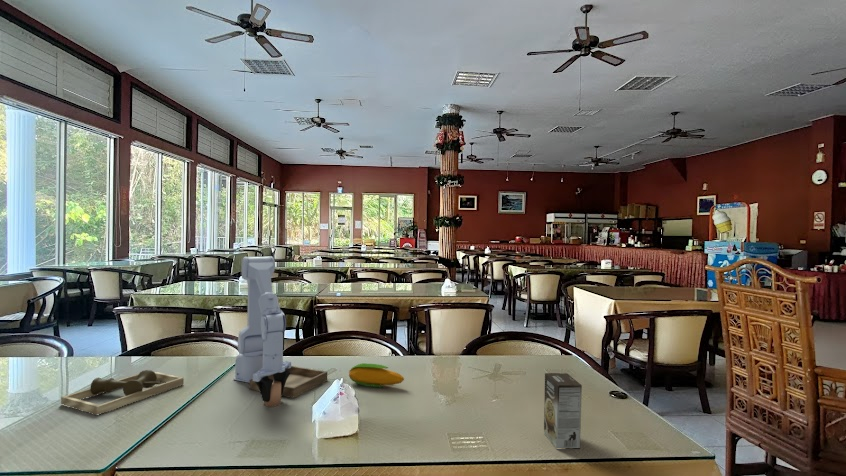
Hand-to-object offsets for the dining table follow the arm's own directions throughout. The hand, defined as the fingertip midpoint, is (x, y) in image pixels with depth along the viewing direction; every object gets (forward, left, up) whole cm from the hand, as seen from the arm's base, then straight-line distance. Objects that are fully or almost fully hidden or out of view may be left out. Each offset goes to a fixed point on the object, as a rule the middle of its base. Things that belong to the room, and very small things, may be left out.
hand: (272, 397), depth 134 cm
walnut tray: (-6, +15, -2) cm, 16 cm away
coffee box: (+83, +12, -2) cm, 84 cm away
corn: (+21, +27, -2) cm, 34 cm away
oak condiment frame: (-46, -14, -2) cm, 48 cm away
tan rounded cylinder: (0, 0, -2) cm, 2 cm away
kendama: (-46, -14, -1) cm, 48 cm away
